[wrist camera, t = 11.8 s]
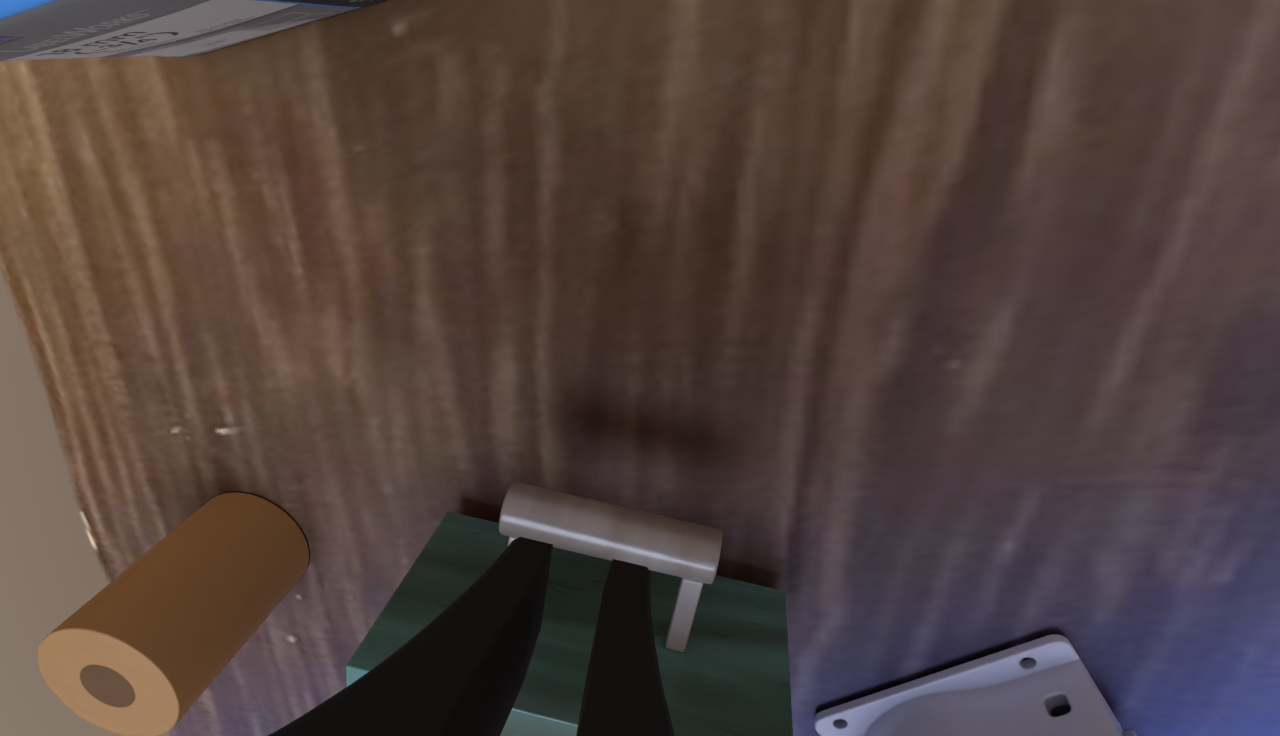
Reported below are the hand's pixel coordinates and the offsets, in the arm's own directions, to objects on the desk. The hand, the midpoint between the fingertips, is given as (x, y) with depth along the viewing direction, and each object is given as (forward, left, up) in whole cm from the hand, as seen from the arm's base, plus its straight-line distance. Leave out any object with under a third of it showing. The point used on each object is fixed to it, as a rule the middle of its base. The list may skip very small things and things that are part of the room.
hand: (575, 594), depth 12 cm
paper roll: (+18, -2, -10) cm, 21 cm away
